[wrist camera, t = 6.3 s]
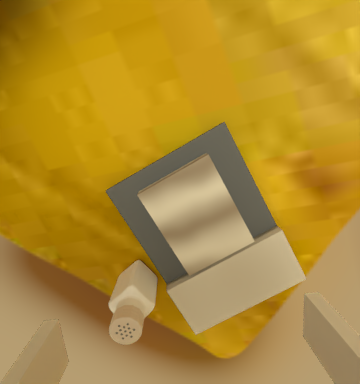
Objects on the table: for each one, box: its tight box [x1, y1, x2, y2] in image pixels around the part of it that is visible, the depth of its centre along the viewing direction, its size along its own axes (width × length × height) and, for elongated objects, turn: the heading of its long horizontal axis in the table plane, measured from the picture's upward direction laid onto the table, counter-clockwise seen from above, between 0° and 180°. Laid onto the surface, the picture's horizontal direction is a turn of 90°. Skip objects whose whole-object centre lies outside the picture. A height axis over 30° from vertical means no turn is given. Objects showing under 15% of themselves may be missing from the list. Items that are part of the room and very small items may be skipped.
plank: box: [137, 153, 255, 276], centre depth 28 cm, size 12×9×2 cm
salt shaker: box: [108, 260, 158, 345], centre depth 28 cm, size 4×4×10 cm
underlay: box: [106, 122, 306, 335], centre depth 30 cm, size 22×16×3 cm
